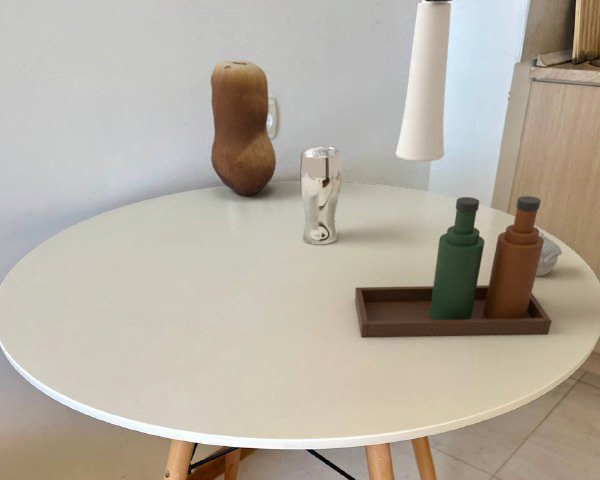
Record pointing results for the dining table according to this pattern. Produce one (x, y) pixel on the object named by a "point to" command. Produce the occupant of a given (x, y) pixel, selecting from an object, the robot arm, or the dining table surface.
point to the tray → (417, 322)
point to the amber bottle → (515, 264)
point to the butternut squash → (241, 127)
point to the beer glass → (320, 192)
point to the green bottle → (458, 265)
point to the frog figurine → (547, 256)
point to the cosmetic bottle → (426, 85)
